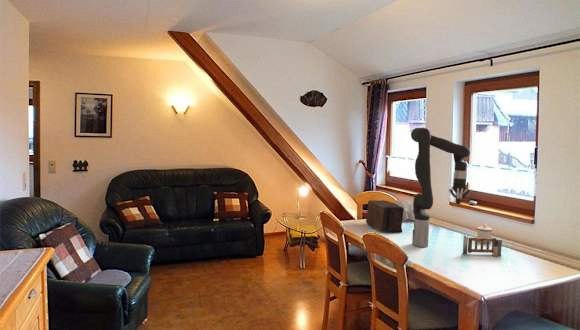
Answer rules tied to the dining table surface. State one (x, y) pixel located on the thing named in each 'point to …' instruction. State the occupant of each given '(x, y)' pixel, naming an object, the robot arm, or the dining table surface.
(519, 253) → the dining table surface
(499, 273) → the dining table surface
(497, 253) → the post
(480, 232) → the teacup with lid
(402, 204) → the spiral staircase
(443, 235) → the dining table surface
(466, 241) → the hinge post
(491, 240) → the walnut gate
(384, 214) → the decorative box
